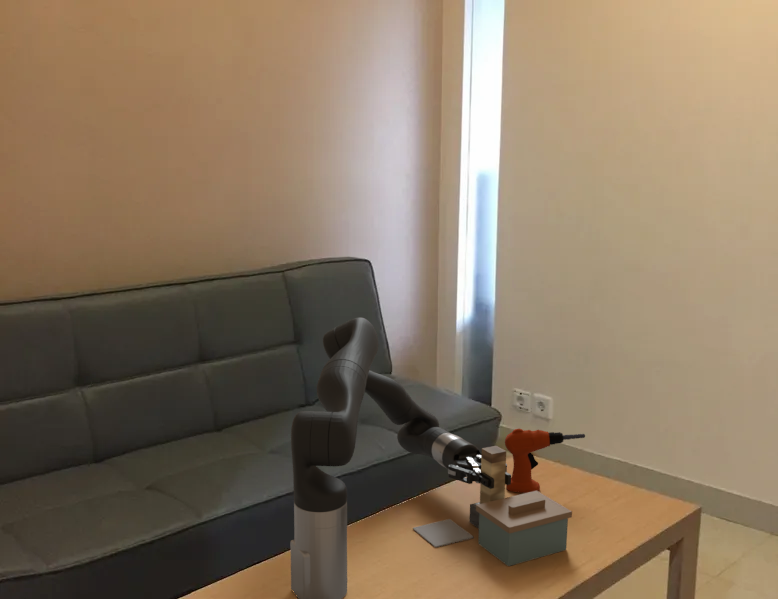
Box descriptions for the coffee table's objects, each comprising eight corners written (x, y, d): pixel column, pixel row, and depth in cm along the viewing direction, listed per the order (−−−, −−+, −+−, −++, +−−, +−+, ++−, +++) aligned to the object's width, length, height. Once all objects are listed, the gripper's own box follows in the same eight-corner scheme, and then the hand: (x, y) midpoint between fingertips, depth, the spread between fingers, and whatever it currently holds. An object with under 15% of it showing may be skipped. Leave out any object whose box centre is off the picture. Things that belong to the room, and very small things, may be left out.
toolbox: (507, 568, 156) (509, 519, 154) (474, 543, 166) (476, 497, 164) (569, 550, 163) (572, 503, 161) (534, 527, 173) (536, 483, 171)
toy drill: (590, 489, 188) (585, 427, 185) (507, 496, 190) (501, 434, 187) (587, 481, 193) (582, 419, 190) (506, 487, 195) (500, 426, 192)
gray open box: (487, 535, 169) (488, 516, 168) (469, 522, 175) (469, 504, 174) (513, 528, 172) (514, 510, 171) (495, 515, 178) (495, 498, 177)
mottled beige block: (489, 527, 171) (491, 454, 168) (479, 520, 174) (481, 448, 171) (503, 524, 172) (506, 451, 169) (493, 517, 176) (496, 445, 173)
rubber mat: (435, 547, 164) (435, 546, 164) (412, 529, 171) (412, 527, 171) (473, 537, 168) (473, 536, 168) (449, 520, 176) (449, 518, 176)
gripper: (428, 443, 180) (472, 471, 165) (482, 433, 186) (530, 459, 171) (427, 475, 181) (471, 506, 166) (481, 464, 188) (528, 493, 173)
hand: (501, 482), depth 169 cm, fingers closed on mottled beige block, 3 cm apart
